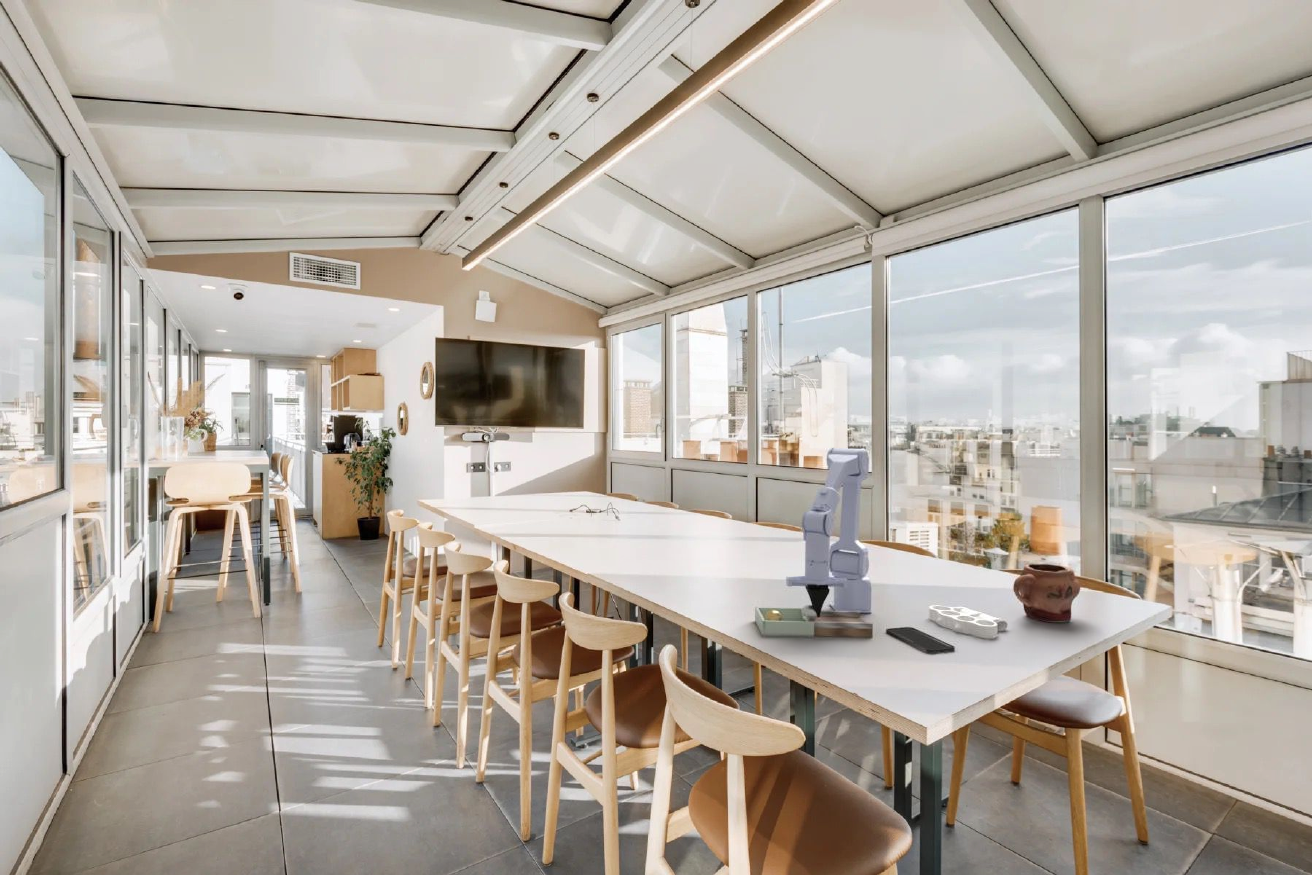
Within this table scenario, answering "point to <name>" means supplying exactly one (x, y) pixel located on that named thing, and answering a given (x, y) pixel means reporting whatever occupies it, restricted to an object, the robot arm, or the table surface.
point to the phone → (920, 640)
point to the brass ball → (773, 616)
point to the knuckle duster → (967, 621)
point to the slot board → (842, 624)
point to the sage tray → (784, 623)
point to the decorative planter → (1047, 591)
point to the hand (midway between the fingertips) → (816, 616)
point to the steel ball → (809, 613)
